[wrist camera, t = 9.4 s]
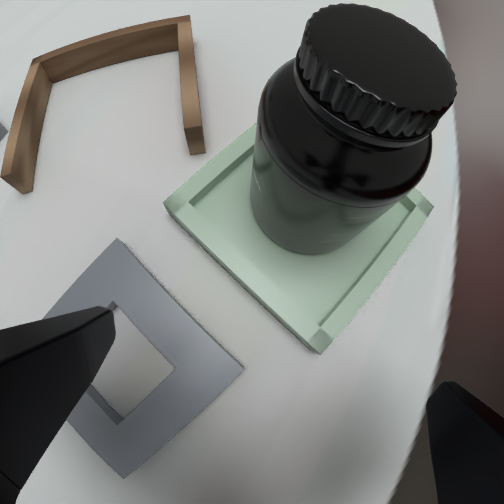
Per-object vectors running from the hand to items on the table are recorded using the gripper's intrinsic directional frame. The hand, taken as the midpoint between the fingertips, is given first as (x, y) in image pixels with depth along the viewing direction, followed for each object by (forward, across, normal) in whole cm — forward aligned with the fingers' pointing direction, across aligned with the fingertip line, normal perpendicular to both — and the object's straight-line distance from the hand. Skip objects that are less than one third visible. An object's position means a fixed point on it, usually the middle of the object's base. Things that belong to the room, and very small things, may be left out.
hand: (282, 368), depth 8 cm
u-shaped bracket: (+16, -15, +3) cm, 22 cm away
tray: (+13, +1, 0) cm, 13 cm away
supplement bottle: (+13, 0, 0) cm, 13 cm away
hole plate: (+5, -8, -9) cm, 13 cm away
